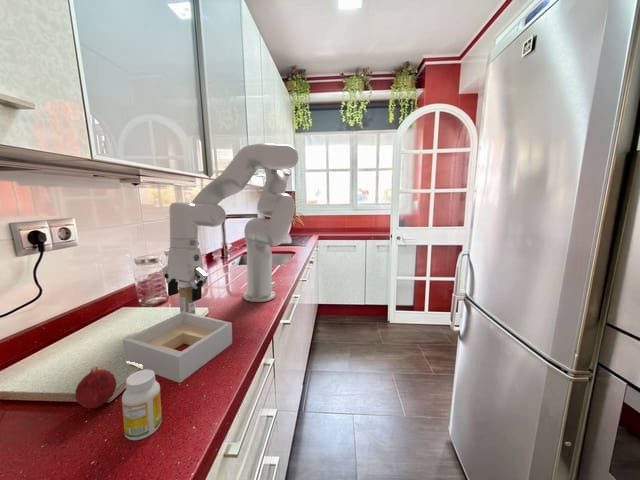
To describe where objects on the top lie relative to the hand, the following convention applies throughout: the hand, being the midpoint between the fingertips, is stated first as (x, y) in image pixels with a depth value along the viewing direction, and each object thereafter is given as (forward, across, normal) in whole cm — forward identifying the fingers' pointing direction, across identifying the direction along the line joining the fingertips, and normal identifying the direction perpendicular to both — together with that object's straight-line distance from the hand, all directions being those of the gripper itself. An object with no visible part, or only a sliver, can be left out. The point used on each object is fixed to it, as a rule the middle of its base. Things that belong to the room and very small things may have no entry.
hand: (184, 297), depth 83 cm
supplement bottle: (+9, -25, +32) cm, 42 cm away
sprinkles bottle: (+8, 0, -1) cm, 8 cm away
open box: (+8, -13, +13) cm, 20 cm away
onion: (+9, -13, +32) cm, 36 cm away
